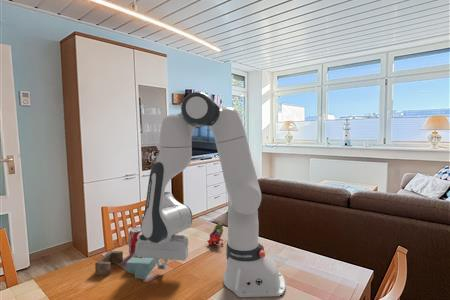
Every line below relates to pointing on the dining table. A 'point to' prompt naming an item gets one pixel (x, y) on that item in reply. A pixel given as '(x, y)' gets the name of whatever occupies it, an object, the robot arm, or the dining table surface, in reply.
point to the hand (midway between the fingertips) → (162, 268)
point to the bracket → (108, 262)
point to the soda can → (133, 240)
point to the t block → (140, 266)
